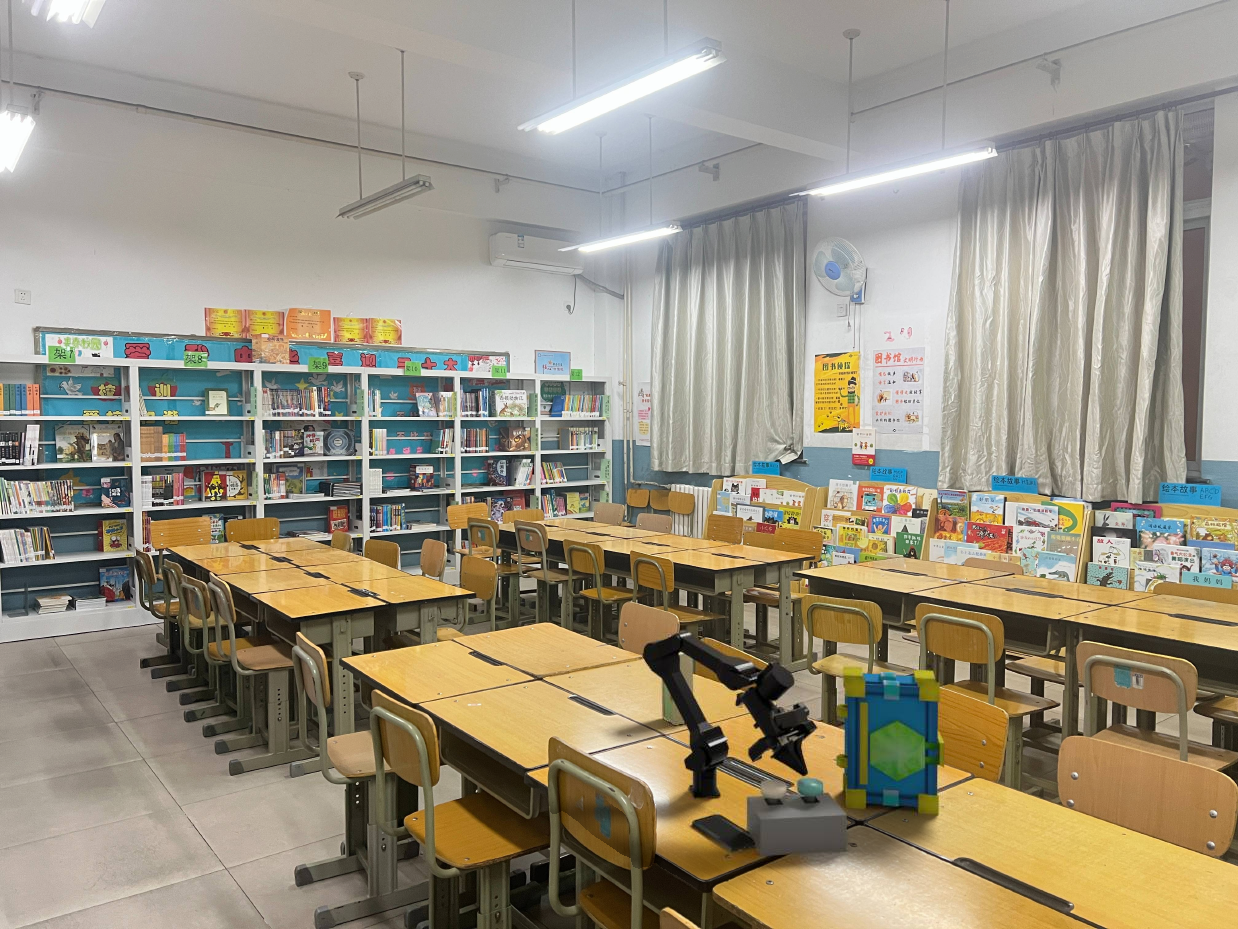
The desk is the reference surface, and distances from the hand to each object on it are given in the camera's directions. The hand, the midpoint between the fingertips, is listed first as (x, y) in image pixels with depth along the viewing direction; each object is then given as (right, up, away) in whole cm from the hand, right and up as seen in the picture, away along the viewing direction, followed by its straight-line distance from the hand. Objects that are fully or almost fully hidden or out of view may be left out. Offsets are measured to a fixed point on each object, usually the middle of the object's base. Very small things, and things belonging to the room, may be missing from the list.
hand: (805, 775), depth 184 cm
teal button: (+1, -6, -1) cm, 6 cm away
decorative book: (+22, -12, +15) cm, 30 cm away
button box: (-3, -13, -3) cm, 13 cm away
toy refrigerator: (-23, -10, +72) cm, 76 cm away
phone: (-17, -13, 0) cm, 22 cm away
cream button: (-7, -6, -1) cm, 10 cm away
